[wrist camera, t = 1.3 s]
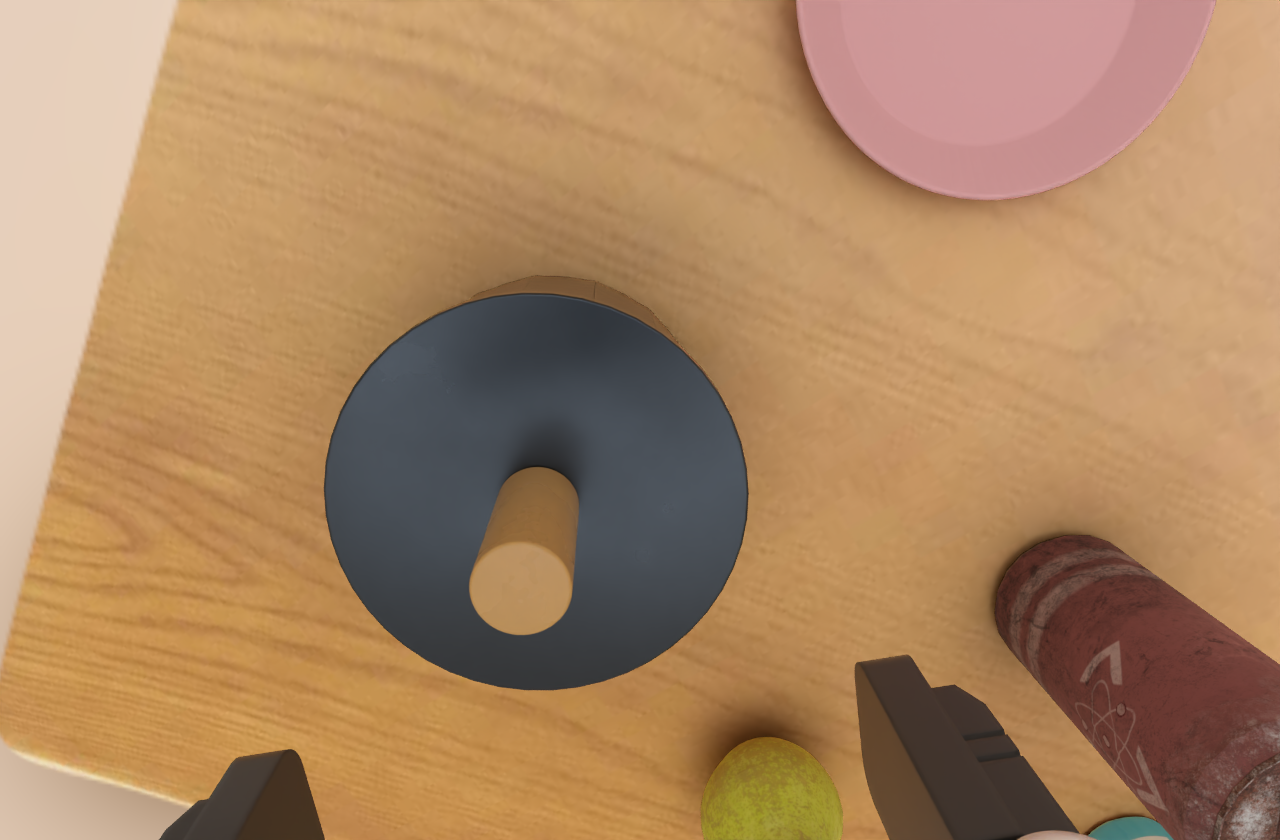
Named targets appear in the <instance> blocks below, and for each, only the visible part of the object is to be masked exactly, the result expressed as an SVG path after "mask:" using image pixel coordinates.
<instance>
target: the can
mask: <svg viewBox="0 0 1280 840" xmlns="http://www.w3.org/2000/svg"><path fill="white" fill-rule="evenodd" d="M995 618H996V622H997V627H998V631H999V634H1000V635H1001V637H1002V638H1003V640H1004V641H1005V643H1006V644H1007V646H1008V647H1009V649H1010V650H1011V651H1012V652H1013V654H1014V655H1015V656H1016V657H1017V658H1018V659H1019V661H1020V662H1021V663H1022V664H1023V665H1024V666H1025V667H1026V669H1027V670H1028V671H1029V672H1030V673H1031V674H1032V676H1033V677H1034V678H1035V679H1036V680H1037V681H1038V683H1039V684H1040V685H1041V686H1042V687H1043V688H1044V690H1045V691H1046V692H1047V693H1048V694H1049V695H1050V697H1051V698H1052V699H1053V700H1054V701H1055V702H1056V704H1057V705H1058V706H1059V707H1060V708H1061V709H1062V711H1063V712H1064V713H1065V714H1066V715H1067V716H1068V717H1069V719H1070V720H1071V721H1072V722H1073V723H1074V724H1075V726H1076V727H1077V728H1078V729H1079V730H1080V731H1081V733H1082V734H1083V735H1084V736H1085V737H1086V738H1087V740H1088V741H1089V742H1090V743H1091V744H1092V745H1093V747H1094V748H1095V749H1096V750H1097V751H1098V752H1099V754H1100V755H1101V756H1102V757H1103V758H1104V759H1105V760H1106V762H1107V763H1108V764H1109V765H1110V766H1111V767H1112V769H1113V770H1114V771H1115V772H1116V773H1117V774H1118V776H1119V777H1120V778H1121V779H1122V780H1123V781H1124V783H1125V784H1126V785H1127V786H1128V787H1129V788H1130V790H1131V791H1132V792H1133V793H1134V794H1135V795H1136V797H1137V798H1138V799H1139V800H1140V801H1141V802H1142V803H1143V805H1144V806H1145V807H1146V808H1147V809H1148V810H1149V812H1150V813H1151V814H1152V815H1153V816H1154V817H1155V819H1156V820H1157V821H1158V822H1159V823H1160V824H1161V826H1162V827H1163V828H1164V829H1165V830H1166V831H1167V833H1168V834H1169V835H1170V836H1171V837H1172V838H1173V840H1280V665H1279V664H1278V663H1277V662H1275V661H1274V660H1272V659H1271V658H1270V657H1268V656H1267V655H1266V654H1264V653H1263V652H1261V651H1260V650H1259V649H1257V648H1256V647H1254V646H1253V645H1252V644H1250V643H1249V642H1247V641H1246V640H1245V639H1243V638H1242V637H1241V636H1239V635H1238V634H1236V633H1235V632H1234V631H1232V630H1231V629H1229V628H1228V627H1227V626H1225V625H1224V624H1223V623H1221V622H1220V621H1218V620H1217V619H1216V618H1214V617H1213V616H1211V615H1210V614H1209V613H1207V612H1206V611H1204V610H1203V609H1202V608H1200V607H1199V606H1198V605H1196V604H1195V603H1193V602H1192V601H1191V600H1189V599H1188V598H1186V597H1185V596H1184V595H1182V594H1181V593H1179V592H1178V591H1177V590H1175V589H1174V588H1173V587H1171V586H1170V585H1168V584H1167V583H1166V582H1164V581H1163V580H1161V579H1160V578H1159V577H1157V576H1156V575H1154V574H1153V573H1152V572H1150V571H1149V570H1148V569H1146V568H1145V567H1143V566H1142V565H1141V564H1139V563H1138V562H1136V561H1135V560H1134V559H1132V558H1131V557H1129V556H1128V555H1127V554H1125V553H1124V552H1123V551H1121V550H1120V549H1118V548H1117V547H1116V546H1114V545H1113V544H1111V543H1110V542H1108V541H1105V540H1101V539H1098V538H1095V537H1092V536H1089V535H1066V536H1062V537H1059V538H1056V539H1052V540H1049V541H1045V542H1042V543H1039V544H1037V545H1036V546H1034V547H1033V548H1031V549H1029V550H1028V551H1026V552H1025V553H1023V554H1021V555H1020V557H1019V558H1018V559H1017V560H1016V561H1015V562H1014V563H1013V564H1012V565H1011V566H1010V567H1009V569H1008V570H1007V572H1006V574H1005V576H1004V578H1003V580H1002V582H1001V584H1000V586H999V589H998V592H997V599H996V606H995Z"/></svg>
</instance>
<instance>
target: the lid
mask: <svg viewBox="0 0 1280 840" xmlns="http://www.w3.org/2000/svg"><path fill="white" fill-rule="evenodd" d="M748 495H749V493H748V480H747V467H746V463H745V458H744V453H743V449H742V444H741V441H740V438H739V435H738V432H737V430H736V427H735V424H734V422H733V419H732V416H731V415H730V413H729V411H728V409H727V407H726V405H725V403H724V401H723V400H722V398H721V396H720V394H719V392H718V390H717V389H716V387H715V386H714V384H713V383H712V382H711V380H710V379H709V378H708V376H707V375H706V373H705V372H704V371H703V369H702V368H701V367H700V366H699V365H698V364H697V362H696V361H695V360H694V359H693V358H692V357H691V356H690V355H689V354H688V353H687V352H686V351H685V350H684V349H683V348H682V347H681V346H680V345H679V344H677V343H676V342H675V341H674V340H672V339H671V338H670V337H669V336H667V335H666V334H665V333H664V332H662V331H661V330H660V329H658V328H656V327H655V326H653V325H651V324H650V323H648V322H646V321H645V320H643V319H641V318H640V317H638V316H637V315H634V314H632V313H630V312H628V311H625V310H623V309H621V308H618V307H616V306H614V305H612V304H609V303H606V302H602V301H599V300H595V299H592V298H588V297H585V296H581V295H575V294H568V293H562V292H555V291H516V292H507V293H498V294H492V295H488V296H484V297H480V298H476V299H472V300H468V301H465V302H463V303H460V304H458V305H455V306H452V307H450V308H447V309H445V310H442V311H440V312H438V313H437V314H435V315H433V316H431V317H429V318H428V319H426V320H424V321H422V322H420V323H419V324H417V325H415V326H414V327H413V328H411V329H410V330H409V331H407V332H406V333H405V334H403V335H402V336H401V337H399V338H398V339H397V340H396V341H394V342H393V343H392V344H390V345H389V346H388V347H387V348H386V349H385V350H384V351H383V352H382V353H381V354H380V355H379V356H378V357H377V358H376V359H375V360H374V361H373V362H372V363H371V364H370V366H369V367H368V368H367V370H366V371H365V372H364V374H363V375H362V376H361V378H360V379H359V380H358V382H357V383H356V384H355V386H354V387H353V389H352V391H351V393H350V394H349V396H348V398H347V400H346V402H345V404H344V405H343V407H342V409H341V411H340V414H339V416H338V419H337V422H336V425H335V427H334V430H333V433H332V435H331V440H330V444H329V449H328V453H327V458H326V465H325V479H324V497H325V511H326V518H327V523H328V527H329V532H330V537H331V541H332V544H333V546H334V549H335V552H336V555H337V557H338V560H339V563H340V565H341V567H342V569H343V571H344V573H345V575H346V577H347V579H348V581H349V583H350V585H351V586H352V588H353V590H354V591H355V593H356V594H357V595H358V597H359V598H360V600H361V601H362V603H363V604H364V605H365V607H366V608H367V610H368V611H369V612H370V613H371V614H372V615H373V616H374V617H375V618H376V620H377V621H378V622H379V623H380V624H381V625H382V626H383V627H384V628H385V629H386V630H387V631H388V632H389V633H390V634H392V635H393V636H394V637H395V638H396V639H397V640H399V641H400V642H401V643H402V644H403V645H404V646H406V647H407V648H409V649H410V650H412V651H413V652H415V653H416V654H418V655H419V656H421V657H422V658H424V659H425V660H427V661H429V662H431V663H433V664H435V665H437V666H439V667H441V668H443V669H445V670H447V671H449V672H451V673H454V674H457V675H460V676H462V677H465V678H468V679H471V680H473V681H477V682H481V683H485V684H489V685H494V686H498V687H504V688H512V689H521V690H558V689H567V688H576V687H581V686H586V685H590V684H594V683H598V682H603V681H606V680H608V679H611V678H614V677H617V676H619V675H622V674H625V673H628V672H630V671H632V670H634V669H636V668H638V667H640V666H642V665H644V664H646V663H648V662H649V661H651V660H653V659H654V658H656V657H657V656H659V655H660V654H662V653H663V652H665V651H666V650H668V649H669V648H671V647H672V646H673V645H674V644H675V643H677V642H678V641H679V640H680V639H681V638H682V637H684V636H685V635H686V634H687V633H688V632H689V631H690V630H691V629H692V628H693V627H694V626H695V625H696V624H697V623H698V622H699V620H700V619H701V618H702V617H703V616H704V615H705V614H706V613H707V612H708V610H709V609H710V607H711V606H712V604H713V603H714V601H715V600H716V599H717V597H718V596H719V594H720V593H721V591H722V590H723V588H724V586H725V584H726V582H727V580H728V578H729V576H730V574H731V572H732V570H733V568H734V565H735V562H736V559H737V557H738V554H739V551H740V548H741V545H742V541H743V536H744V531H745V526H746V521H747V510H748Z"/></svg>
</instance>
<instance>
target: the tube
mask: <svg viewBox="0 0 1280 840" xmlns="http://www.w3.org/2000/svg"><path fill="white" fill-rule="evenodd" d="M1088 836H1089V837H1092V838H1095V839H1097V840H1173V838H1172V837H1171V836H1170V835H1169V834H1168V833H1167V831H1166V830H1165V829H1164V828H1163V827H1162V826H1161V824H1160V823H1158V822H1156V821H1154V820H1152V819H1149V818H1146V817H1137V816H1136V817H1124V818H1119V819H1115V820H1111V821H1108V822H1106V823H1103V824H1102V825H1100V826H1099V827H1097V828H1096V829H1095V830H1093V831H1092V832H1091V833H1090V834H1089V835H1088Z"/></svg>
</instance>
